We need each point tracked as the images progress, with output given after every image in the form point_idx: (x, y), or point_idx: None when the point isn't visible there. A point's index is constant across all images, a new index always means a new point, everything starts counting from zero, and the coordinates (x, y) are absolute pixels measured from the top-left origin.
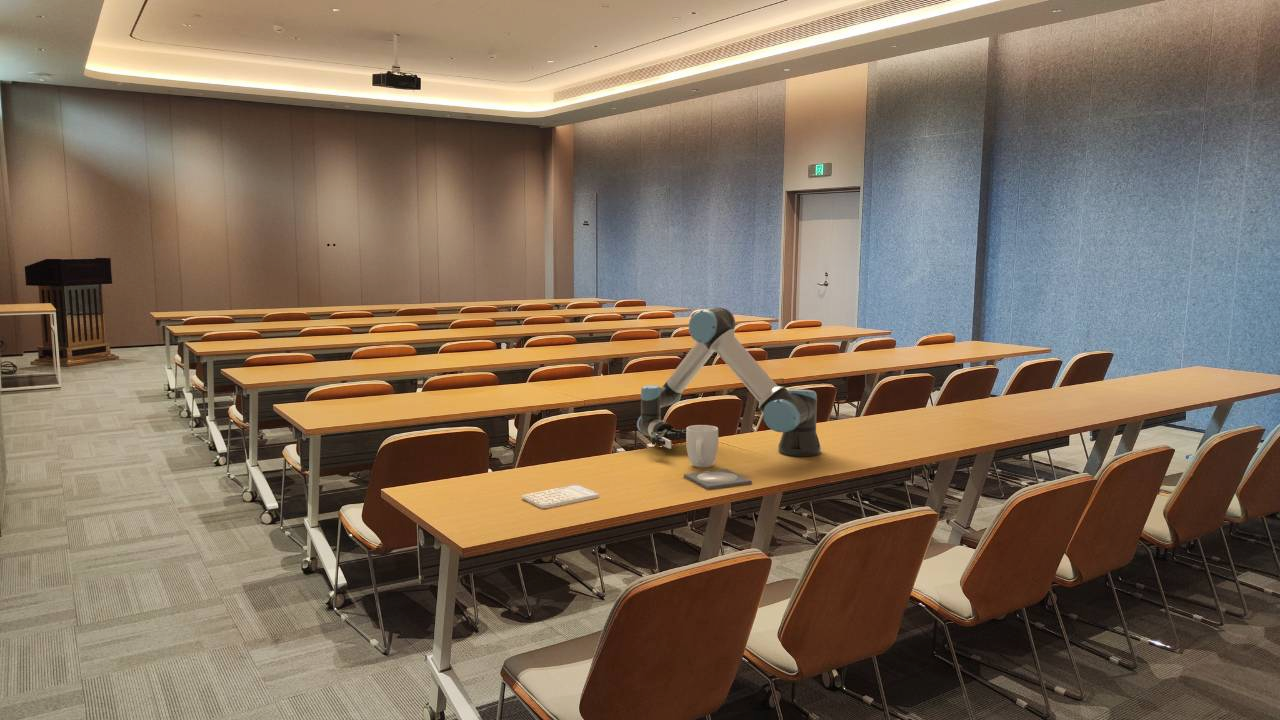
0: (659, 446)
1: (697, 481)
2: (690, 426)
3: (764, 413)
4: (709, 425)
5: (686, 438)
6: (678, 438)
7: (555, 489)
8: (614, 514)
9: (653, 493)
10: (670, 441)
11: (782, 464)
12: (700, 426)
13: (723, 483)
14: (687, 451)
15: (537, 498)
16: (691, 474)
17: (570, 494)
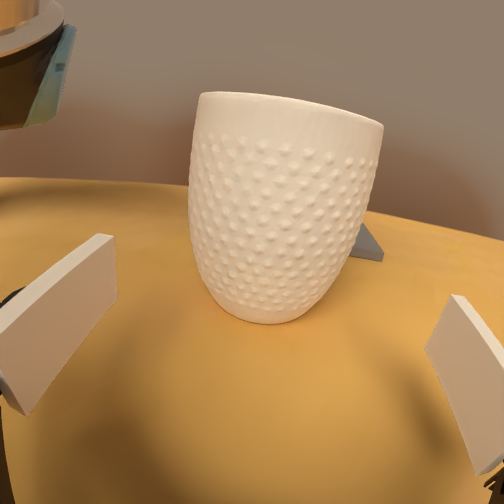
0: (491, 479)
1: (364, 225)
2: (342, 112)
3: (66, 59)
4: (209, 92)
5: (372, 184)
6: None
7: None
8: (481, 236)
9: (448, 245)
10: (453, 298)
11: (60, 208)
12: (254, 103)
13: None
14: (350, 251)
15: None
16: (363, 244)
17: None
